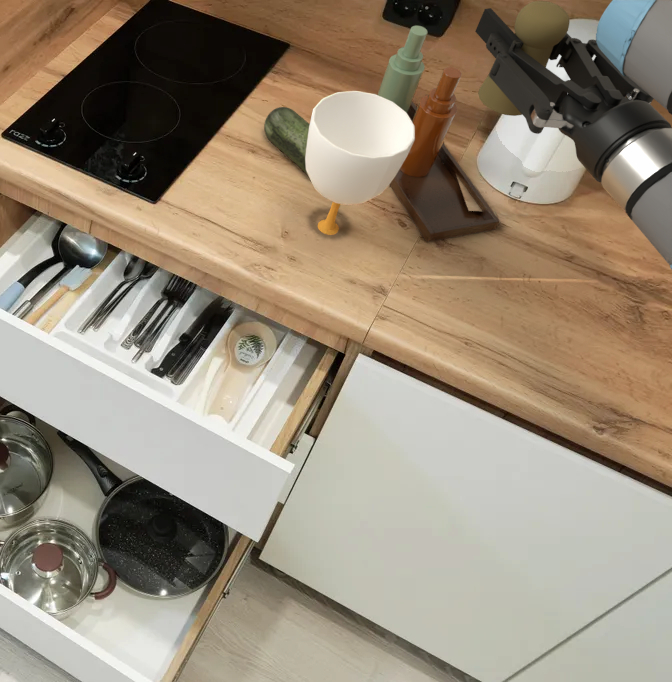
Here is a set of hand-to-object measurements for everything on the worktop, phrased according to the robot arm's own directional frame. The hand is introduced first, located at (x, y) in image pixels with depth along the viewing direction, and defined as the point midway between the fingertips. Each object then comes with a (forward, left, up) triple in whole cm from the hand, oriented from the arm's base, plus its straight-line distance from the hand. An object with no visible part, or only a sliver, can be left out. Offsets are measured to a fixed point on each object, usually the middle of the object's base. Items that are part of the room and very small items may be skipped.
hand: (504, 17), depth 88 cm
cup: (+15, +8, -26) cm, 31 cm away
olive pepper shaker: (-1, +5, -7) cm, 9 cm away
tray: (+1, -5, -26) cm, 26 cm away
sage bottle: (+3, -13, -25) cm, 29 cm away
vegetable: (+17, -6, -26) cm, 32 cm away
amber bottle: (+1, -5, -25) cm, 26 cm away
